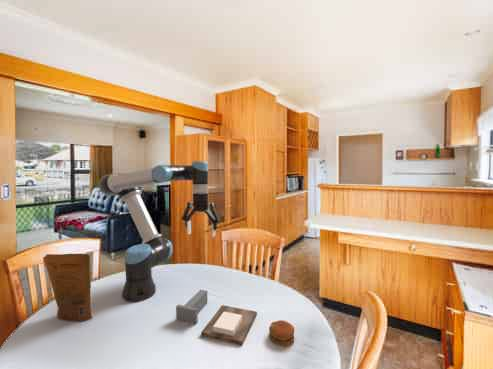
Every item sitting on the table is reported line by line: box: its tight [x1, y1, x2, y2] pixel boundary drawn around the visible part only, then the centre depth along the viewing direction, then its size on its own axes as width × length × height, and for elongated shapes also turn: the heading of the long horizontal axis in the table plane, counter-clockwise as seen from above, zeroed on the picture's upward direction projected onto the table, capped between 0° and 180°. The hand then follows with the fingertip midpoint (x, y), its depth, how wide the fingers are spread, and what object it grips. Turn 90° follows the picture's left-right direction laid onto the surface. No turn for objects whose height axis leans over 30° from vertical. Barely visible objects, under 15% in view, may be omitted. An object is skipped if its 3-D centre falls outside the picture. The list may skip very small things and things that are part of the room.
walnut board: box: [200, 304, 258, 346], centre depth 99 cm, size 16×19×2 cm
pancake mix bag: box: [42, 253, 93, 323], centre depth 102 cm, size 7×19×28 cm, turn 82°
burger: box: [268, 319, 295, 347], centre depth 91 cm, size 10×9×5 cm
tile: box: [213, 312, 242, 336], centre depth 96 cm, size 8×2×10 cm
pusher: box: [175, 289, 208, 326], centre depth 107 cm, size 9×16×6 cm, turn 162°
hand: (201, 235), depth 124 cm, fingers open, 13 cm apart
